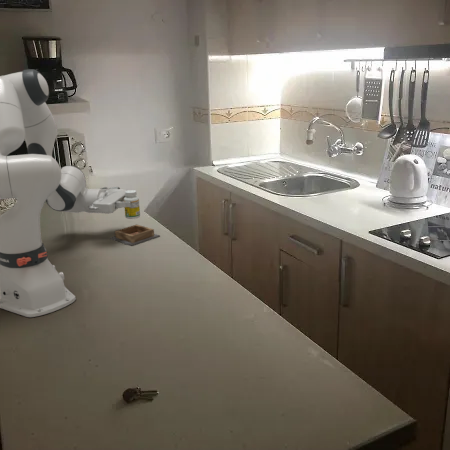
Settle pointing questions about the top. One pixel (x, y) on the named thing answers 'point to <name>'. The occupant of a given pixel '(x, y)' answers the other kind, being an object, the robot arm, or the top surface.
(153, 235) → the wooden tray
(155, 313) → the top surface
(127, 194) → the supplement bottle
